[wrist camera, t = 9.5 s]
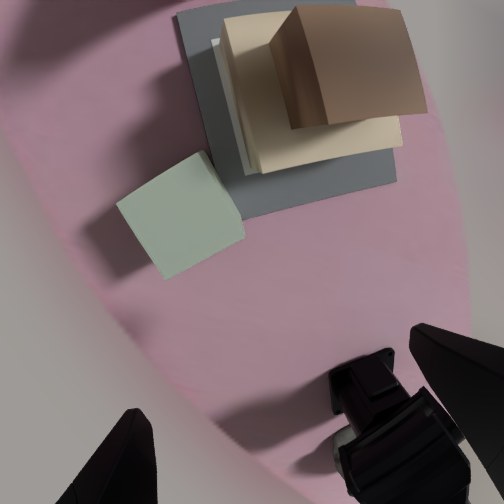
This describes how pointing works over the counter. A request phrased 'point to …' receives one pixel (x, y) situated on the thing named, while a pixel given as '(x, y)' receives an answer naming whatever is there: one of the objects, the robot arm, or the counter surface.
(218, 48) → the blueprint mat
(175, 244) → the sage block
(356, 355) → the counter surface
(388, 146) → the birch base block
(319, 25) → the walnut cube
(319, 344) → the counter surface
